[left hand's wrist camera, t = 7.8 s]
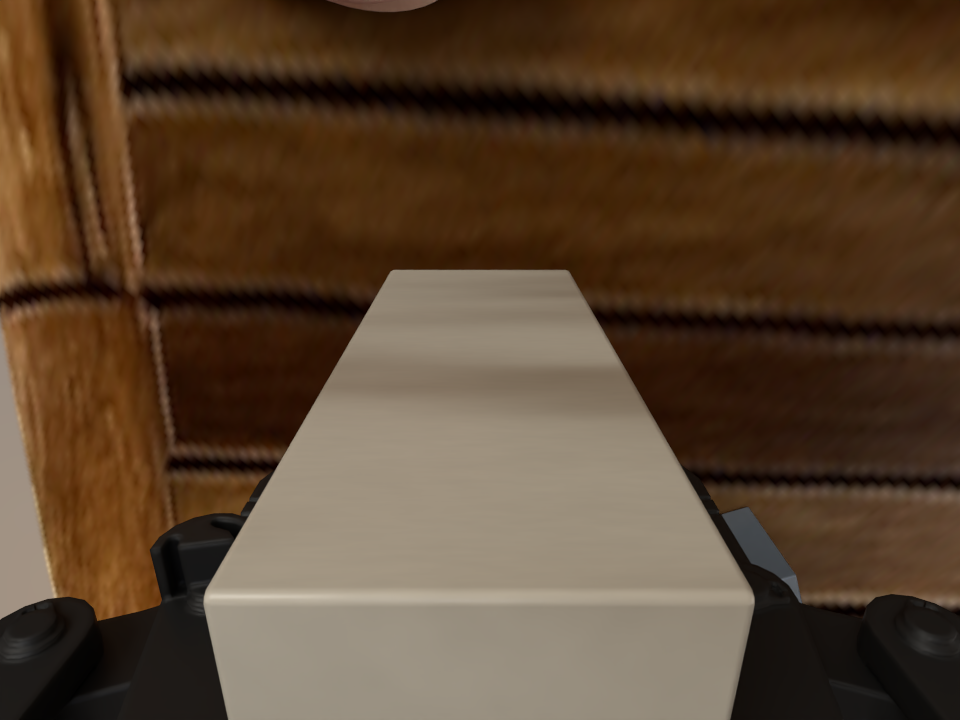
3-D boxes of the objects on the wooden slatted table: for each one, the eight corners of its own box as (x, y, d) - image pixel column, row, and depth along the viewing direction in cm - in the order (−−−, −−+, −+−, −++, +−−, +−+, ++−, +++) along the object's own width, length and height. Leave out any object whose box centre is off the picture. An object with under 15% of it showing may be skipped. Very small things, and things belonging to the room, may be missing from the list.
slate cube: (748, 505, 30) (796, 575, 26) (765, 580, 32) (814, 658, 28) (650, 533, 31) (681, 606, 26) (673, 605, 33) (705, 686, 28)
